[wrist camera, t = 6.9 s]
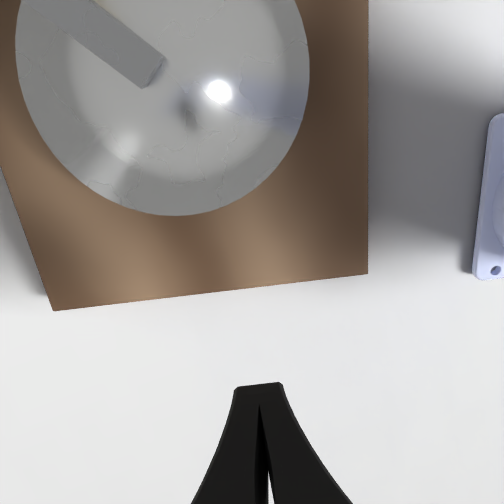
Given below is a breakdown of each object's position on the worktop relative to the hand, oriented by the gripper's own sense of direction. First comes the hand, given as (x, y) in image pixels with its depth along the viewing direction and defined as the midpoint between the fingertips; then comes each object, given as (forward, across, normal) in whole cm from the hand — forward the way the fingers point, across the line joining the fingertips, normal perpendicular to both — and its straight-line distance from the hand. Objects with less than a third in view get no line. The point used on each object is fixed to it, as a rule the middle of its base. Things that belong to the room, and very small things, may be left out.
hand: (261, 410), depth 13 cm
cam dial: (+8, +4, -11) cm, 14 cm away
